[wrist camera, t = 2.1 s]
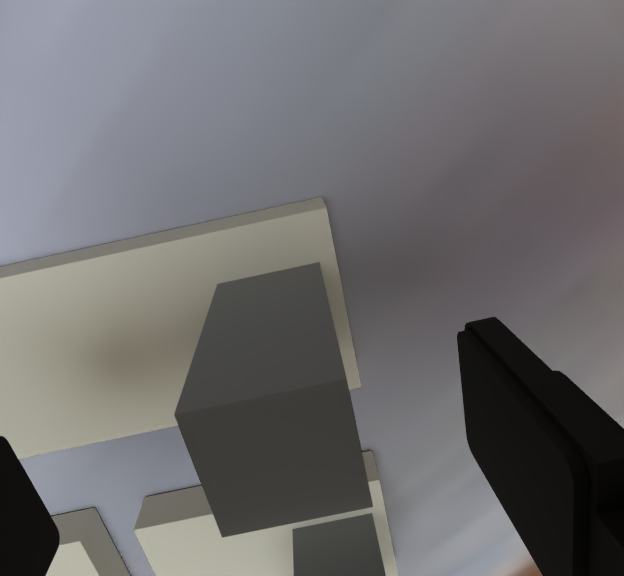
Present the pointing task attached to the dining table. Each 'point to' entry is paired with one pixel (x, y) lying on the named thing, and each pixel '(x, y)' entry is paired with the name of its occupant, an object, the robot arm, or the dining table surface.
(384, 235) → the dining table surface
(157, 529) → the broken strip
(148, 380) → the cream strip
